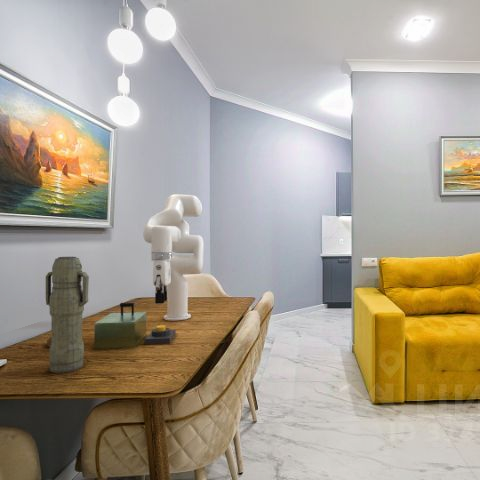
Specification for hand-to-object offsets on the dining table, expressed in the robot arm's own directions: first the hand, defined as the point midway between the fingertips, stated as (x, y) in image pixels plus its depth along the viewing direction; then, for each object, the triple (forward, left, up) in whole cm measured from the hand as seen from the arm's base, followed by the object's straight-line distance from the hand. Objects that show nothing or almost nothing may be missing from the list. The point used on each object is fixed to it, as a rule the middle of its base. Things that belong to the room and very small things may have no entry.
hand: (161, 301), depth 141 cm
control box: (0, 0, -15) cm, 15 cm away
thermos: (+26, -22, -16) cm, 37 cm away
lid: (+1, -14, -6) cm, 15 cm away
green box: (+1, -14, -15) cm, 21 cm away
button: (0, 0, -12) cm, 12 cm away
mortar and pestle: (+1, -36, -16) cm, 39 cm away
